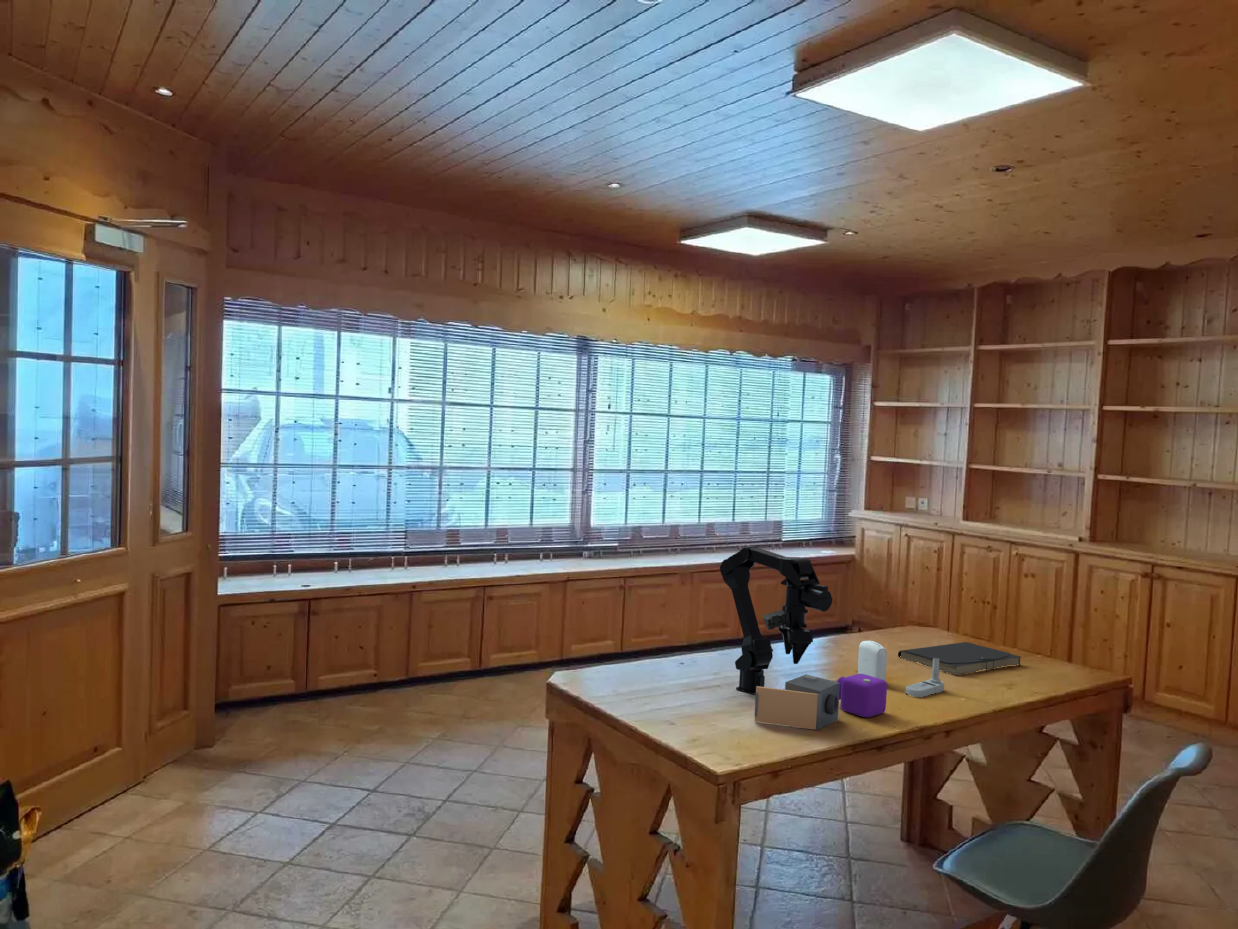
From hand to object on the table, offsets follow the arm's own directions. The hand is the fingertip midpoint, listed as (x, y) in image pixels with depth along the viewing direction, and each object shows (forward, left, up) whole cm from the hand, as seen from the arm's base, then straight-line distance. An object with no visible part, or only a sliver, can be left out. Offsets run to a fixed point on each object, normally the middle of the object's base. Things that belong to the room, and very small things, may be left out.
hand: (791, 658), depth 240 cm
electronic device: (+22, +42, -13) cm, 49 cm away
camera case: (+10, -7, -13) cm, 18 cm away
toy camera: (+15, +10, -13) cm, 23 cm away
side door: (+9, -16, -13) cm, 22 cm away
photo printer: (+5, +40, -13) cm, 43 cm away
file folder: (+15, +87, -14) cm, 90 cm away
